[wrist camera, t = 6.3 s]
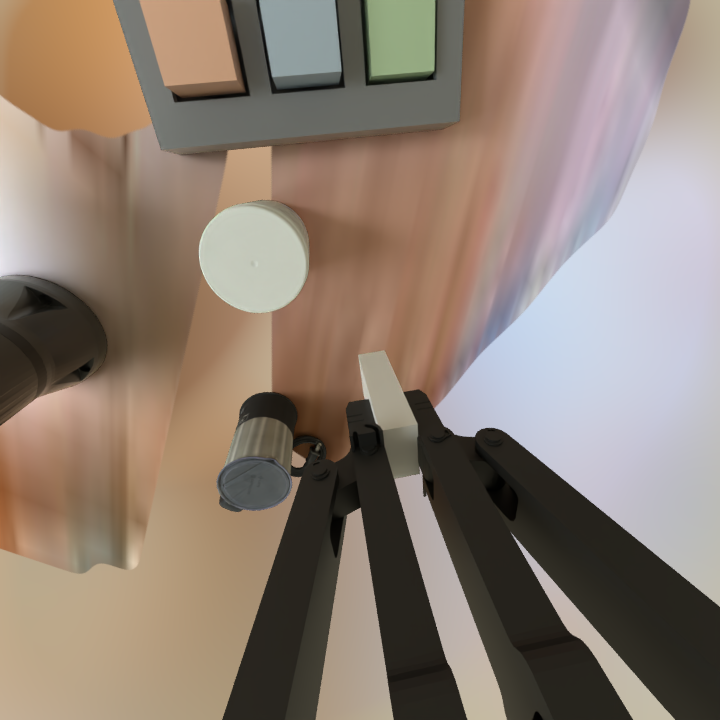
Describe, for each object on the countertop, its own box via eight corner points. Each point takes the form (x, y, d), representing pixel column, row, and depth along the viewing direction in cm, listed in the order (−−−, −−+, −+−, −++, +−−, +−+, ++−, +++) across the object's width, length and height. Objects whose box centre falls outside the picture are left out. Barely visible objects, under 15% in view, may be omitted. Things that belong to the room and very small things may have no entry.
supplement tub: (235, 275, 43) (200, 312, 30) (229, 195, 38) (185, 197, 25) (310, 280, 44) (307, 318, 31) (311, 203, 40) (310, 209, 27)
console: (180, 154, 36) (161, 149, 32) (125, -27, 29) (91, -65, 25) (442, 129, 38) (459, 121, 33) (446, -47, 31) (468, -86, 27)
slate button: (277, 89, 31) (272, 77, 28) (262, 3, 29) (255, -23, 25) (338, 84, 32) (341, 71, 28) (330, -2, 29) (332, -28, 25)
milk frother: (245, 384, 50) (221, 452, 37) (342, 405, 54) (351, 473, 41) (230, 452, 56) (205, 531, 43) (319, 466, 60) (320, 543, 47)
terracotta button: (181, 98, 31) (164, 86, 27) (157, 10, 28) (134, -16, 24) (245, 92, 31) (236, 80, 28) (227, 5, 28) (215, -21, 25)
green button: (365, 88, 34) (371, 76, 30) (360, 8, 31) (366, -16, 27) (422, 83, 34) (434, 70, 31) (422, 3, 31) (435, -21, 28)
